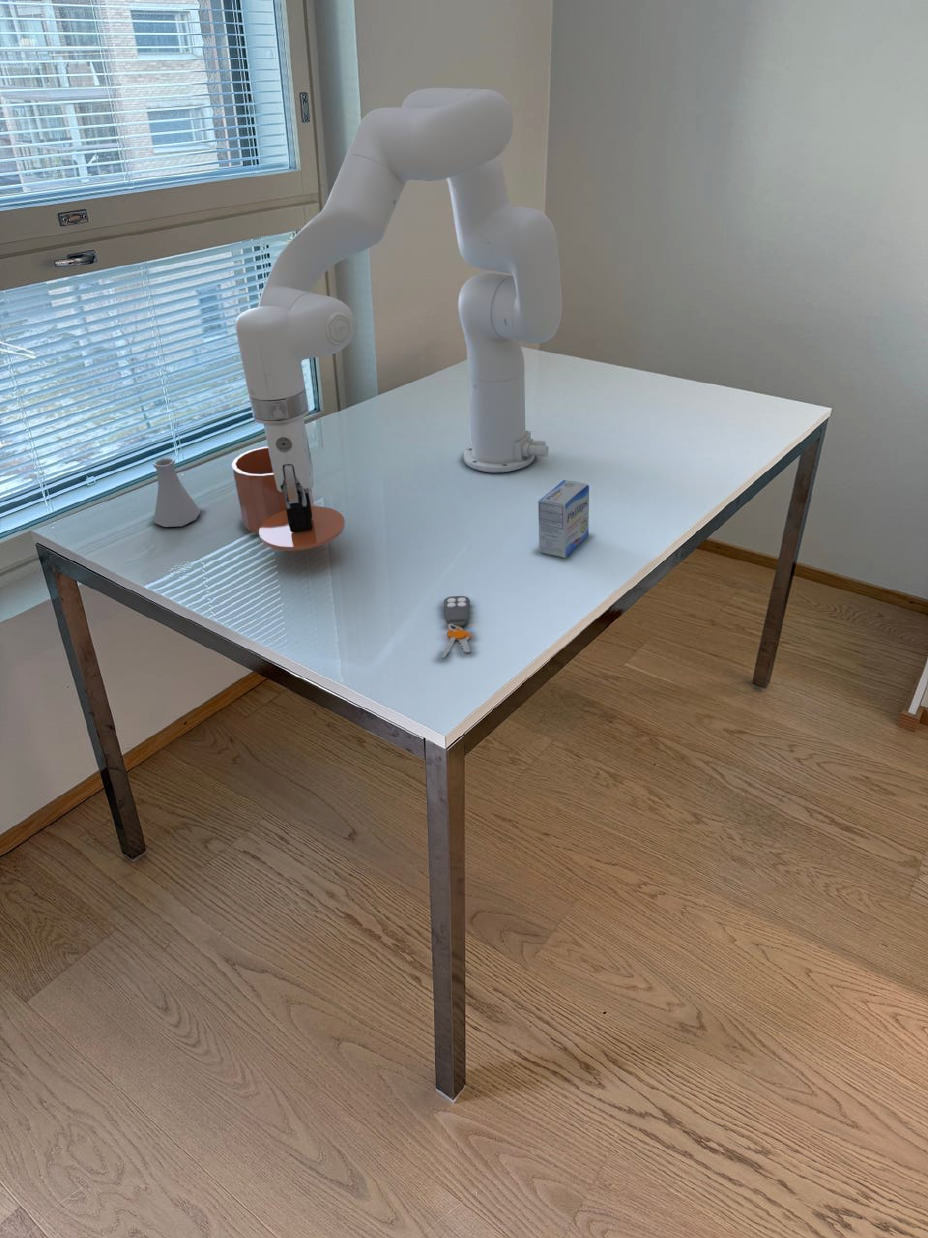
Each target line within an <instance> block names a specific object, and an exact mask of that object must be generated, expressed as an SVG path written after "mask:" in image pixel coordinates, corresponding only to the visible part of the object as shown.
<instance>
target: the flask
mask: <svg viewBox="0 0 928 1238" xmlns="http://www.w3.org/2000/svg"><path fill="white" fill-rule="evenodd" d="M175 464H176V460H175V458H171V457H162V458H160V459H157V460H155V461H154V462H153V464H152V466H153V468H154V469H155V470H156V474H157V495H156V503H155V510H154V516H153V524H156V525H158V526H160V527H164V528H172V527H184V526H185V525H187V524H189V523H192V522H194V521H196V520H197V519H198V517H199V515H200V513H201V510H200V508H199V507H198V506H197V504H196V502H195V501H194V500H193V498H192V496H190V494H189V493H188V491H187V490H186V488H185V487H184V485H183V484H182V482H181V481H180V478H179V476H178V474H177V471H176V468H175Z"/></svg>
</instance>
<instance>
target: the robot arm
mask: <svg viewBox="0 0 928 1238" xmlns="http://www.w3.org/2000/svg"><path fill="white" fill-rule="evenodd" d="M513 128H514V117H513V111H512V108H511V105H510V103H509V102H508V100H507V99H506V98H505V96H503V95H502V94H501V93H499V91H496V90H493V89H488V88H459V87H458V88H457V87H428V88H422V89H417V90H414V91H413V92H411V93H410V94H408V95H407V96H406V97H405V98H404V100H403V101H402V104H401V106H395V107H394V106H393V107H392V106H389V107H378V108H375V109H373V110H371V111H369V112H368V113H367V114H365V115H364V116H363V118H362V119H361V121H360V122H359V124H358V126H357V129H356V131H355V133H354V135H353V138H352V141H351V143H350V145H349V148H348V149H347V152H346V155H345V157H344V160H343V162H342V165H341V167H340V169H339V172H338V174H337V177H336V178H335V181H334V184H333V186H332V188H331V191H330V193H329V194H328V195H329V196H328V198H327V200H326V203H325V204H324V207H323V208H322V209H321V211H319V212H318V214H317V215H315V216H314V217H313V218H312V219H311V220H309V221H308V222H307V223H306V224H305V225H304V227H302V228H300V230H299V231H298V232H297V233H296V234H295V235H294V236H293V237H292V238H291V239H290V240H289V241H288V243H286V245H285V246H284V247H283V248H282V250H280V252H279V254H278V256H277V257H276V258H275V261H274V262H273V264H272V267H271V269H270V271H269V274H268V276H267V278H266V281H265V283H264V286H263V288H262V291H261V293H260V297H259V301H258V305H257V307H253V308H250V309H247V310H245V311H242V312H241V313H239V315H238V316H237V317H236V320H235V325H234V326H235V334H236V338H237V343H238V344H237V345H238V349H239V353H240V358H241V363H242V369H243V373H244V378H245V383H246V387H247V393H248V398H249V403H250V409H251V413H252V418H253V421H255V422H256V423H258V424H262V425H263V428H264V435H265V440H266V444H267V445H266V446H268V450H269V455H270V460H271V465H272V469H273V473H274V478H275V482H276V486H277V489H278V491H280V492H282V493H283V491H284V495H285V500H286V512H287V517H288V522H289V527H290V531H291V532H300V531H308V530H312V521H311V518H312V511H311V506H310V500H309V494H308V493H305V492H306V488H308V489H312V488H313V486H314V469H313V460H312V455H311V450H310V444H309V439H308V433H307V428H306V423H305V420H304V419H305V418H306V416H307V415H308V414H309V413H310V406H309V402H308V394H307V390H306V383H305V376H304V371H303V365H302V362H303V361H305V360H308V359H315V358H321V357H326V356H331V355H335V354H336V353H340V352H341V351H343V349H345V348H346V347H347V346H348V345H349V344H350V343H351V341H352V339H353V338H354V334H355V330H356V321H355V316H354V314H353V312H352V310H351V309H350V307H349V306H348V305H347V304H346V303H344V302H343V301H342V300H340V299H338V298H336V297H333V296H329V295H325V294H320V293H315V292H313V290H314V288H315V286H316V285H317V283H318V282H319V280H320V279H321V278H322V277H323V275H324V274H325V273H326V272H327V271H328V270H330V269H331V268H332V267H334V266H335V265H336V264H338V263H339V262H341V261H343V260H346V259H347V258H351V257H352V256H355V255H357V254H359V253H361V252H364V251H366V250H367V249H371V248H372V247H374V246H375V245H377V244H378V243H379V242H381V241H382V239H383V238H384V237H385V234H386V231H387V228H388V226H389V223H390V221H391V219H392V216H393V214H394V211H395V209H396V206H397V205H398V202H399V200H400V197H401V194H402V193H403V190H404V189H405V186H406V184H407V182H408V181H409V180H410V181H412V180H413V181H424V182H425V181H426V182H437V181H442V180H446V182H447V185H448V190H449V195H450V201H451V208H452V214H453V221H454V227H455V233H456V241H457V245H458V250H459V253H460V256H461V258H462V260H463V261H464V262H465V263H466V264H467V265H469V266H470V267H472V268H476V269H480V270H484V271H485V270H486V271H489V272H483V273H477V274H475V275H473V276H471V277H470V278H468V279H467V280H466V281H465V282H464V284H463V285H462V287H461V289H460V291H459V293H458V299H457V301H458V302H457V309H458V310H457V311H458V316H459V321H460V324H461V328H462V329H461V330H462V332H463V337H464V340H465V341H464V342H465V349H466V358H467V361H466V362H467V377H468V378H467V379H468V396H469V415H470V416H469V419H470V434H471V435H470V438H471V445H470V446H468V447H467V448H466V449H465V450H464V452H463V461H464V463H465V465H466V466H467V467H469V468H471V469H473V470H476V471H480V472H486V473H508V472H513V471H517V470H521V469H524V468H526V467H528V466H530V465H531V463H533V462H534V460H535V457H539V458H547V457H548V455H549V446H548V445H547V442H546V441H545V440H534V439H533V438H532V432H531V431H530V430H526V389H525V388H526V386H525V382H526V381H525V368H526V367H525V358H524V357H525V356H524V352H523V348H522V346H521V344H520V342H523V343H528V344H544V343H546V342H548V341H550V340H551V339H553V338H554V336H555V335H556V334H557V332H558V331H559V327H560V325H561V322H562V316H563V292H562V281H561V280H562V279H561V269H560V268H561V267H560V257H559V245H558V238H557V232H556V230H555V227H554V225H553V223H552V220H551V219H550V218H549V216H547V215H546V214H545V212H543V211H541V210H540V209H537V208H533V207H528V206H519V205H513V204H512V203H511V202H510V199H509V196H508V194H509V193H508V189H507V183H506V176H505V171H504V166H503V163H502V160H501V158H500V155H501V154H502V153H503V152H504V150H505V149H506V148H507V146H508V144H509V142H510V140H511V137H512V134H513ZM490 271H491V272H490ZM496 272H497V273H496ZM510 274H511V275H510ZM298 493H301V495H300V494H298ZM305 496H306V498H305ZM306 501H307V504H306Z"/></svg>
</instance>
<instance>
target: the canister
mask: <svg viewBox="0 0 928 1238" xmlns="http://www.w3.org/2000/svg"><path fill="white" fill-rule="evenodd" d="M230 465H231V471H232V476H233V480H234V485H235V490H236V495H237V499H238V504H239V509H240V515H241V521H242V523H243V527H244V528H245V529H247V530H248V531H249V532H252V533H255V534H258V535H259V529H260V527H261V525H262V524H263V523H264V522H265V521H266V520H267V519H268V518H270V517H271V516H273V515H275V514H277V513H280V512H282V511H285V510H286V500H285V495H284V491H283V493H282V492H280V491H278V489H277V486H276V482H275V478H274V473H273V469H272V465H271V460H270V455H269V450H268V445H266V446H262V447H257V448H254V449H250V450H248V451H244V452H242V453H241V454H239V455H238V456H236V457H234V459H233V460H232V462H231V464H230ZM305 493H308V494H309V500H310V506H315V504H314V503H315V502H314V496H313V490H312V488H311V489H308V488H306V492H305Z"/></svg>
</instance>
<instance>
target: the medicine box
mask: <svg viewBox="0 0 928 1238" xmlns="http://www.w3.org/2000/svg"><path fill="white" fill-rule="evenodd" d="M537 503H538V504H537V505H538V506H537V511H538V517H537V518H538V519H537V520H538V551H539V553H541V554H546V555H550V556H554V557H558V558H563V559H566V558H567V557H568V556H569V555H570V554H572V552H573V551H574V550H575V549H577V547H578V546H579V545H580V544H582V542H583V541H584V540H585V539H586V538H587V537H589V529H590V525H589V524H590V523H589V522H590V485H589V484H587V483H585V482H584V483H583V482H580V481H574V480H569V479H563V480H562V481H560V482H559V483H558V484H557V485H556V486H554V488H552V489H551V490H550V491H549V492H547V493H546V494H545V495H544V496H542V497H541V498H540V499H539V500H538V502H537Z"/></svg>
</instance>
